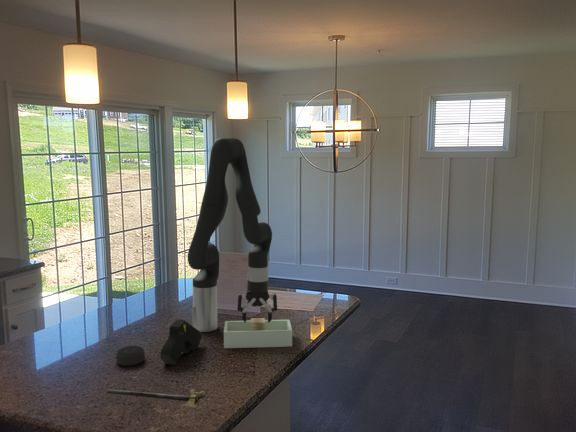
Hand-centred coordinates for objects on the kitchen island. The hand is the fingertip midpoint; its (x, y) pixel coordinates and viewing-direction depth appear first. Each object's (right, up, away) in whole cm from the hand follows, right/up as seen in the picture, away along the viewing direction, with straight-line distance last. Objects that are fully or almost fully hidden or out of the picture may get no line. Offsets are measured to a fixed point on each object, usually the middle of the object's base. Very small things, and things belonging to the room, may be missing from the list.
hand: (257, 321), depth 185 cm
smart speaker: (-40, -10, -18) cm, 45 cm away
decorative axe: (-25, -13, -41) cm, 50 cm away
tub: (0, -7, +1) cm, 7 cm away
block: (0, -6, 0) cm, 6 cm away
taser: (-24, -9, -12) cm, 29 cm away
